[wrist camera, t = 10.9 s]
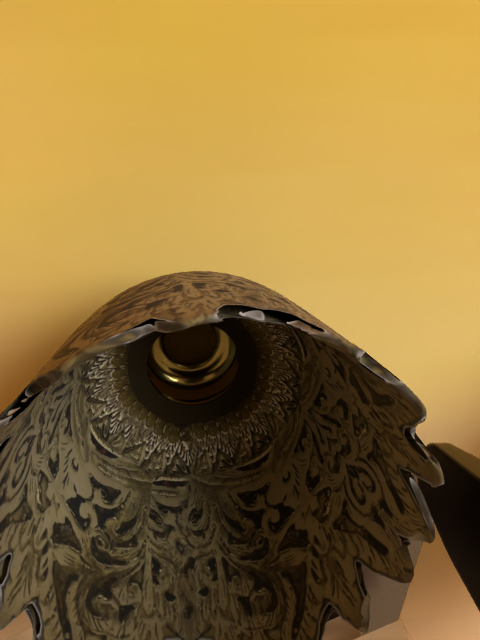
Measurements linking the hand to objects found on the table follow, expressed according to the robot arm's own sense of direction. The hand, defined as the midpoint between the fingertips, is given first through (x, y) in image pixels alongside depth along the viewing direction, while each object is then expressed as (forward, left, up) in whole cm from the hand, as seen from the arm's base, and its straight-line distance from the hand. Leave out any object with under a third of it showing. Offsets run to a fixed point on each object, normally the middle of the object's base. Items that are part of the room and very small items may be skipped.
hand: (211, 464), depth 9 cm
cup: (0, 0, -6) cm, 6 cm away
